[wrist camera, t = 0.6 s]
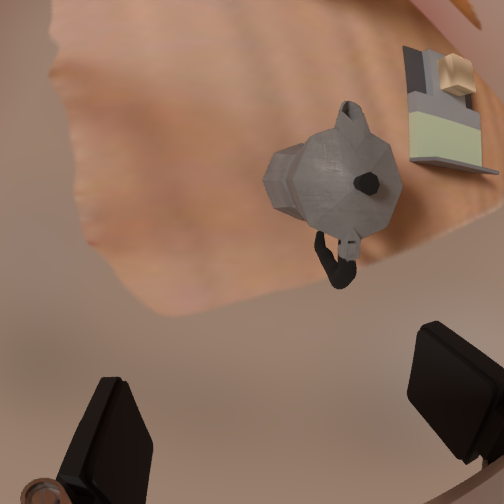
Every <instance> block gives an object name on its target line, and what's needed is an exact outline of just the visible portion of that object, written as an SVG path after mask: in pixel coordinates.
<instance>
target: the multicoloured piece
mask: <svg viewBox="0 0 504 504" xmlns="http://www.w3.org/2000/svg"><path fill="white" fill-rule="evenodd" d="M403 53H404V61H405V70H406V81H407V93H408V108H409V133H410V161H411V162H417V163H423V164H429V165H435V166H440V167H445V168H451V169H456V170H461V171H465V172H470V173H479V174H495V175H499V171H496V170H492V169H488V168H484V167H482V151H481V127H480V113H478V112H476V111H473V110H472V101H471V94H466V95H462V96H456V95H454V94H451V93H448V92H446V91H443V90H440V80H439V72H438V65H437V60H438V59H441V58H443V57H445V55H442V54H440V53H437V52H435V51H432V50H430V49H427V50H425V51H423V52H421V51H418V50H415V49H412V48H409V47H406V46H403Z"/></svg>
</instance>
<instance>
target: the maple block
mask: <svg viewBox="0 0 504 504" xmlns="http://www.w3.org/2000/svg"><path fill="white" fill-rule="evenodd" d="M437 65H438V72H439V80H440V90H443V91H446V92H448V93H451V94H454V95H456V96H462V95H466V94H471V93H475V92H476V89H475V82H474V75H473V68H472V63H471V62H470V61H468V60H466V59H464V58H462V57H460V56H458V55H456V54H454V53H452V54H450V55H448V56H445V57H443V58H441V59H438V60H437Z"/></svg>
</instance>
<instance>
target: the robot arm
mask: <svg viewBox="0 0 504 504" xmlns="http://www.w3.org/2000/svg"><path fill="white" fill-rule="evenodd" d="M407 396H408V399H409V401H410V402H411V403H412V405H413V406H414V407H415V408H416V409H417V411H418V412H419V413H420V414H421V415H422V417H423V418H424V419H425V420H426V421H427V423H429V425H430V426H431V427H432V429H433V430H434V431H435V432H436V433H437V435H438V436H439V437H440V438H441V439H442V441H443V442H444V443H445V445H446V446H447V447H448V448H449V449H450V451H451V452H452V453H453V454H454V456H455V457H456V458H457V459H459V460H461V459H462V461H463V462H464V463H465V464H466V465H467V464H469V463H470V462H472V461H473V460H475V459H477V458H478V456H479V455H481V456H482V457H483V461H482V470H481V471H479V472H478V473H476V474H475V475H473V476H472V477H470V478H469V479H467V480H465V481H464V482H462V483H460V484H459V485H457V486H455V487H454V488H452V489H450V490H448V491H447V492H445V493H443V494H441V495H439V496H437V497H436V498H434V499H432V500H430V501H428V502H426V503H424V504H504V368H503V367H501V366H500V365H499V364H497V363H496V362H495V361H493V360H492V359H491V358H489V357H488V356H487V355H485V354H484V353H483V352H481V351H480V350H478V349H477V348H476V347H474V346H473V345H472V344H470V343H469V342H467V341H466V340H464V339H463V338H462V337H460V336H459V335H457V334H456V333H455V332H453V331H452V330H451V329H449V328H448V327H446V326H445V325H443V324H442V323H440V322H439V321H433V322H430V323H427V324H424V325H422V326H421V328H420V330H419V331H418V333H417V338H416V344H415V351H414V357H413V363H412V369H411V374H410V379H409V384H408V389H407ZM152 454H153V442H152V439H151V437H150V435H149V432H148V430H147V429H146V426H145V424H144V421H143V419H142V417H141V414H140V412H139V410H138V407H137V405H136V402H135V400H134V397H133V395H132V392H131V390H130V387H129V385H128V383H127V382H126V381H122V379H121V378H120V377H103V378H101V380H100V382H99V384H98V386H97V388H96V390H95V392H94V394H93V396H92V398H91V400H90V403H89V405H88V407H87V409H86V411H85V414H84V416H83V418H82V420H81V421H80V423H79V426H78V427H77V429H76V432H75V434H74V436H73V439H72V441H71V443H70V445H69V448H68V450H67V453H66V455H65V457H64V460H63V462H62V465H61V467H60V470H59V472H58V475H57V477H56V480H54V479H50V478H38V479H35V480H33V481H31V482H29V483H28V484H27V485H26V486H25V487H24V489H23V490H22V492H21V496H20V502H21V504H145V503H146V496H147V488H148V481H149V473H150V467H151V461H152Z"/></svg>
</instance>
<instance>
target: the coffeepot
mask: <svg viewBox="0 0 504 504" xmlns="http://www.w3.org/2000/svg"><path fill="white" fill-rule="evenodd" d="M263 183H264V185H265V188H266V191H267V193H268V196H269V198H270V200H271V203H272V205H273V208H274V209H277V210H279V211H281V212H283V213H286V214H288V215H290V216H293V217H295V218H297V219H300V220H302V219H305V220H306V222H307V223H308V224H309V226H310V227H313V228H315V229H317V230H319V231H318V232H317V233H316V238H315V244H314V248H315V251H316V253H317V255H318V257H319V259H320V262H321V264H322V265H323V267H324V269H325V271H326V273H327V275H328V278H329V280H330V282H331V284H332V286H333V287H334V288H336V289H343V288H345V287H347V286H348V285H349V284H350V283H351V282H352V280H353V279H354V278H355V276H356V269H357V267H356V262H355V258H359V255H360V242H361V239H363V238H365V237H367V236H369V235H371V234H374V233H376V232H378V231H380V230H382V229H384V228H386V227H387V226H388V224H389V222H390V219H391V217H392V214H393V212H394V209H395V207H396V204H397V202H398V199H399V196H400V194H401V191H402V189H403V185H402V182H401V178H400V175H399V172H398V168H397V165H396V162H395V159H394V156H393V153H392V150H391V147H390V145H389V144H388V143H386V142H385V141H383V140H382V139H380V138H378V137H377V136H375V135H374V134H372V133H370V130H369V127H368V124H367V121H366V119H365V116H364V113H362V109H361V107H360V106H359V105H357V104H356V103H354V102H351V101H344V102H343V103H342V104H341V107H340V110H339V114H338V117H337V121H336V124H335V127H334V128H332V129H329V130H326V131H323V132H320V133H317V134H314V135H312V136H310V138H309V139H308V140H307V141H306V142H305V144H303V143H301V144H298V145H295V146H292V147H290V148H287V149H284V150H281V151H279V152H276V153H274V155H273V157H272V160H271V162H270V164H269V166H268V169H267V171H266V174H265V176H264V178H263ZM324 233H326V234H328V235H330V236H333V237H335V238H337V239H339V241H338V263H337V261H336V260H335V259H334V256H333V254H332V252H331V251H330V250H329V249H328V248H326V246H325V239H324Z"/></svg>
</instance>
